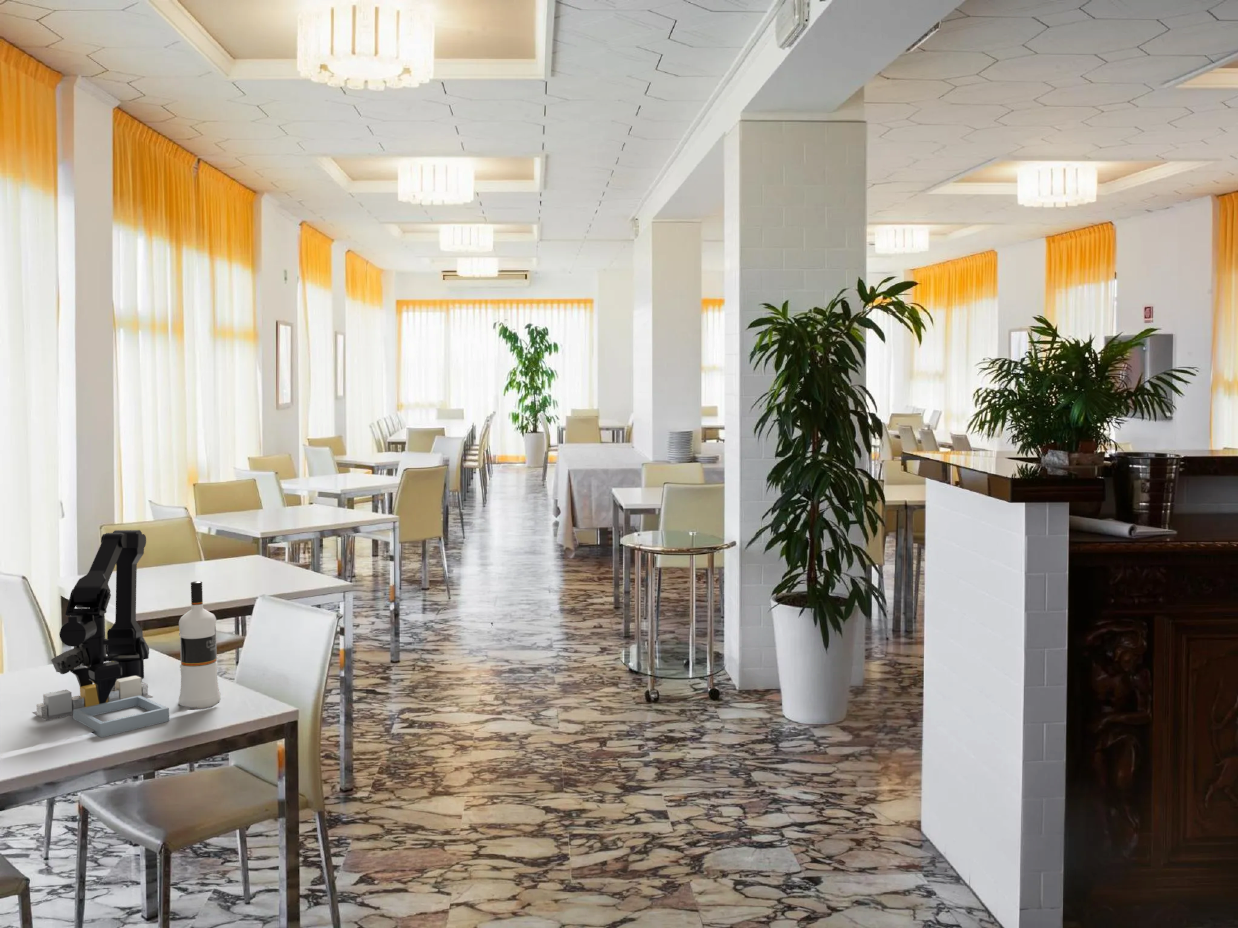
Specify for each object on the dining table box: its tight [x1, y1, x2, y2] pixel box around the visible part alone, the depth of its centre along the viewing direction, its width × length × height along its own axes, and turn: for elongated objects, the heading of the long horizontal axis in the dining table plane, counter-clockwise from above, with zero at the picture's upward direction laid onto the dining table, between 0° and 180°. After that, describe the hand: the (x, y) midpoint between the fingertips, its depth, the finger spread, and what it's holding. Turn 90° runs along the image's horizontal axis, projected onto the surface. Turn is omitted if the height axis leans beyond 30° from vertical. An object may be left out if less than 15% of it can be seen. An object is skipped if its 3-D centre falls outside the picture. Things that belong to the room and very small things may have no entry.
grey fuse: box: [42, 689, 73, 716], centre depth 235 cm, size 5×3×4 cm, turn 139°
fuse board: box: [31, 681, 154, 721], centre depth 241 cm, size 24×9×4 cm, turn 139°
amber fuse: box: [79, 683, 108, 707], centre depth 241 cm, size 5×3×4 cm, turn 139°
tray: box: [72, 695, 170, 738], centre depth 231 cm, size 15×15×3 cm
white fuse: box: [114, 676, 142, 700], centre depth 247 cm, size 5×3×4 cm, turn 139°
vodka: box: [178, 580, 221, 711], centre depth 243 cm, size 9×9×30 cm
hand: (94, 700), depth 241 cm, fingers open, 9 cm apart
